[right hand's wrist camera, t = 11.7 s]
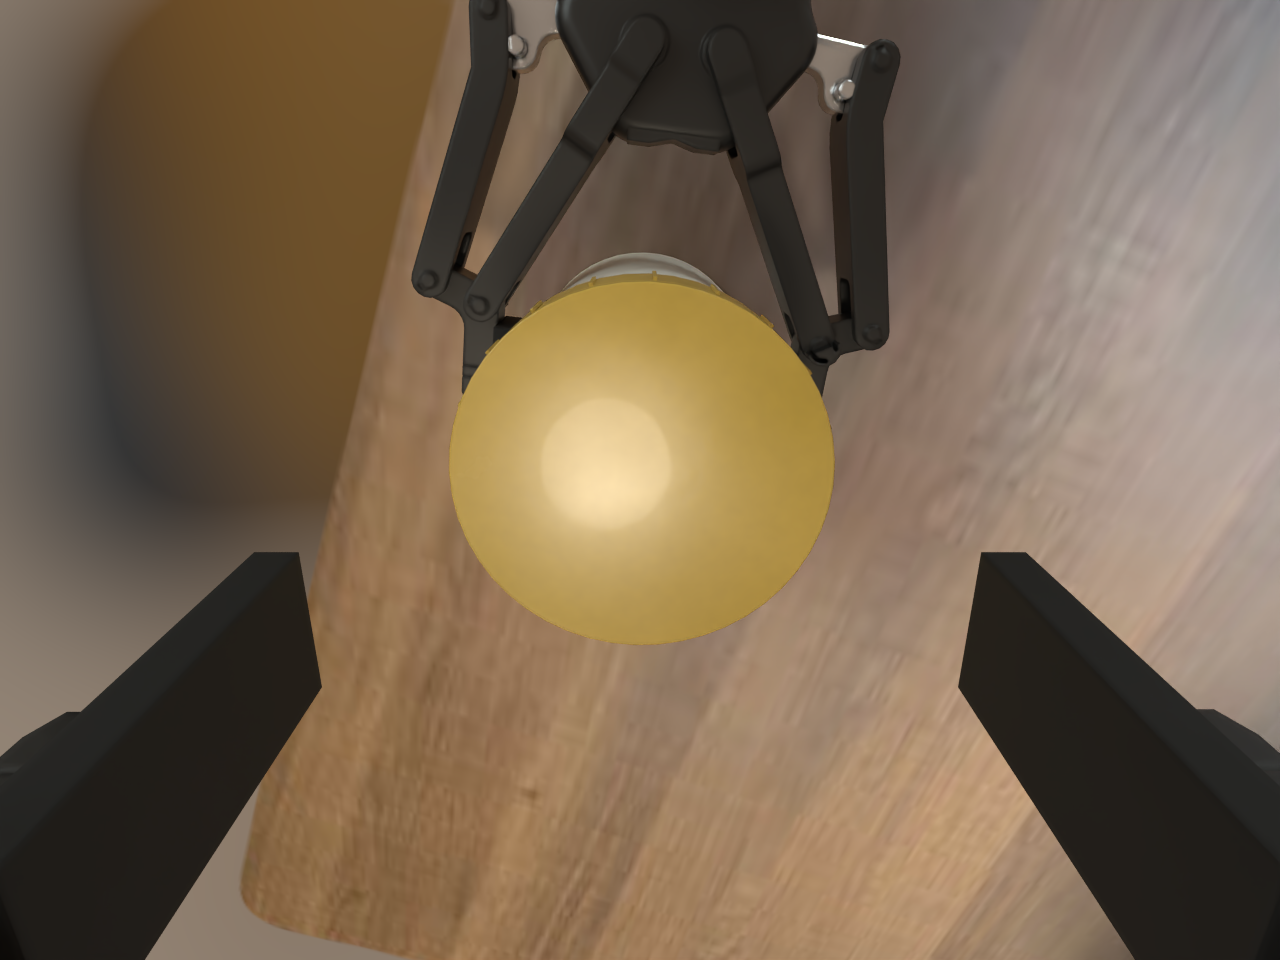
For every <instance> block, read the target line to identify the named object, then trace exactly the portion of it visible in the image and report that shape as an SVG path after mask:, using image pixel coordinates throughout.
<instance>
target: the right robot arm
mask: <svg viewBox="0 0 1280 960" xmlns="http://www.w3.org/2000/svg"><path fill="white" fill-rule="evenodd" d="M321 688H322V685H321V679H320V673H319V668H318V662H317V656H316V650H315V644H314V639H313V633H312V627H311V621H310V615H309V610H308V604H307V598H306V592H305V586H304V581H303V575H302V569H301V563H300V557H299V553H298V552H254V553H253V554H252V555H251V556H250V557H249V558H248V559H246V560H245V561H244V562H243V563H242V564H241V565H240V566H239V567H238V568H237V569H236V570H234V571H233V572H232V573H231V574H230V575H229V576H228V577H227V578H226V579H225V580H224V581H223V582H221V583H220V584H219V585H218V586H217V587H216V588H215V589H214V590H213V591H212V592H211V593H209V594H208V595H207V596H206V597H205V598H204V599H203V600H202V601H201V602H200V603H199V604H198V605H196V606H195V607H194V608H193V609H192V610H191V611H190V612H189V613H188V614H187V615H186V616H184V618H182V619H181V620H180V621H179V622H178V623H177V624H176V625H175V626H174V627H173V628H172V629H170V630H169V631H168V632H167V633H166V634H165V635H164V636H163V637H162V638H161V639H160V640H158V641H157V642H156V643H155V644H154V645H153V646H152V647H151V648H150V649H149V650H148V651H147V652H145V653H144V654H143V655H142V656H141V657H140V658H139V659H138V660H137V661H136V662H135V663H133V664H132V665H131V666H130V667H129V668H128V669H127V670H126V671H125V672H124V673H123V674H121V675H120V676H119V677H118V678H117V679H116V680H115V681H114V682H113V683H112V684H111V685H110V686H108V687H107V688H106V689H105V690H104V691H103V692H102V693H101V694H100V695H99V696H98V697H97V698H95V699H94V700H93V701H92V702H91V703H90V704H89V705H88V706H87V707H86V708H85V709H83V710H82V711H81V712H66V713H64V714H63V715H61V716H59V717H57V718H55V719H54V720H52V721H50V722H49V723H47V724H45V725H43V726H42V727H40V728H38V729H36V730H35V731H33V732H31V733H29V734H28V735H26V736H24V737H22V738H21V739H20V740H19V741H18V742H17V743H16V744H14V745H13V746H12V747H11V748H10V749H9V750H8V751H6V752H5V753H4V754H3V755H2V756H1V757H0V960H145V959H146V957H147V955H148V954H149V952H150V951H151V949H152V948H153V946H154V945H155V943H156V942H157V940H158V939H159V937H160V936H161V934H162V932H163V931H164V929H165V928H166V926H167V925H168V923H169V922H170V920H171V919H172V917H173V916H174V914H175V912H176V911H177V909H178V908H179V906H180V905H181V903H182V902H183V900H184V899H185V897H186V896H187V894H188V892H189V891H190V889H191V888H192V886H193V885H194V883H195V882H196V880H197V879H198V877H199V876H200V874H201V872H202V871H203V869H204V868H205V866H206V865H207V863H208V862H209V860H210V859H211V857H212V855H213V854H214V852H215V851H216V849H217V848H218V846H219V845H220V843H221V842H222V840H223V839H224V837H225V835H226V834H227V832H228V831H229V829H230V828H231V826H232V825H233V823H234V822H235V820H236V819H237V817H238V815H239V814H240V812H241V811H242V809H243V808H244V806H245V805H246V803H247V802H248V800H249V799H250V797H251V795H252V794H253V792H254V791H255V789H256V788H257V786H258V785H259V783H260V782H261V780H262V779H263V777H264V775H265V774H266V772H267V771H268V769H269V768H270V766H271V765H272V763H273V762H274V760H275V759H276V757H277V755H278V754H279V752H280V751H281V749H282V748H283V746H284V745H285V743H286V742H287V740H288V738H289V737H290V735H291V734H292V732H293V731H294V729H295V728H296V726H297V725H298V723H299V722H300V720H301V718H302V717H303V715H304V714H305V712H306V711H307V709H308V708H309V706H310V705H311V703H312V702H313V700H314V698H315V697H316V695H317V694H318V692H319V691H320V689H321ZM958 688H959V689H960V691H961V692H962V694H963V695H964V697H965V698H966V700H967V702H968V703H969V705H970V706H971V708H972V709H973V711H974V712H975V714H976V715H977V717H978V718H979V720H980V722H981V723H982V725H983V726H984V728H985V729H986V731H987V732H988V734H989V735H990V737H991V738H992V740H993V742H994V743H995V745H996V746H997V748H998V749H999V751H1000V752H1001V754H1002V755H1003V757H1004V759H1005V760H1006V762H1007V763H1008V765H1009V766H1010V768H1011V769H1012V771H1013V772H1014V774H1015V775H1016V777H1017V779H1018V780H1019V782H1020V783H1021V785H1022V786H1023V788H1024V789H1025V791H1026V792H1027V794H1028V795H1029V797H1030V799H1031V800H1032V802H1033V803H1034V805H1035V806H1036V808H1037V809H1038V811H1039V812H1040V814H1041V815H1042V817H1043V819H1044V820H1045V822H1046V823H1047V825H1048V826H1049V828H1050V829H1051V831H1052V832H1053V834H1054V835H1055V837H1056V839H1057V840H1058V842H1059V843H1060V845H1061V846H1062V848H1063V849H1064V851H1065V852H1066V854H1067V856H1068V857H1069V859H1070V860H1071V862H1072V863H1073V865H1074V866H1075V868H1076V869H1077V871H1078V872H1079V874H1080V876H1081V877H1082V879H1083V880H1084V882H1085V883H1086V885H1087V886H1088V888H1089V889H1090V891H1091V892H1092V894H1093V896H1094V897H1095V899H1096V900H1097V902H1098V903H1099V905H1100V906H1101V908H1102V909H1103V911H1104V912H1105V914H1106V916H1107V917H1108V919H1109V920H1110V922H1111V923H1112V925H1113V926H1114V928H1115V929H1116V931H1117V932H1118V934H1119V936H1120V937H1121V939H1122V940H1123V942H1124V943H1125V945H1126V946H1127V948H1128V949H1129V951H1130V952H1131V954H1132V956H1133V957H1134V959H1135V960H1280V753H1279V752H1278V751H1277V750H1275V749H1274V748H1273V747H1272V746H1271V745H1270V744H1268V743H1267V742H1266V741H1265V740H1264V739H1263V738H1262V737H1260V736H1259V735H1258V734H1256V733H1254V732H1253V731H1251V730H1249V729H1247V728H1246V727H1244V726H1242V725H1240V724H1239V723H1237V722H1235V721H1233V720H1232V719H1230V718H1228V717H1226V716H1225V715H1223V714H1221V713H1219V712H1218V711H1216V710H1214V709H1195V708H1194V707H1193V706H1192V705H1191V704H1190V703H1189V702H1188V701H1187V700H1186V699H1185V698H1184V697H1182V696H1181V695H1180V694H1179V693H1178V692H1177V691H1176V690H1175V689H1174V688H1173V687H1172V686H1170V685H1169V684H1168V683H1167V682H1166V681H1165V680H1164V679H1163V678H1162V677H1161V676H1160V675H1159V674H1157V673H1156V672H1155V671H1154V670H1153V669H1152V668H1151V667H1150V666H1149V665H1148V664H1147V663H1145V662H1144V661H1143V660H1142V659H1141V658H1140V657H1139V656H1138V655H1137V654H1136V653H1135V652H1134V651H1132V650H1131V649H1130V648H1129V647H1128V646H1127V645H1126V644H1125V643H1124V642H1123V641H1122V640H1121V639H1119V638H1118V637H1117V636H1116V635H1115V634H1114V633H1113V632H1112V631H1111V630H1110V629H1109V628H1107V627H1106V626H1105V625H1104V624H1103V623H1102V622H1101V621H1100V620H1099V619H1098V618H1097V617H1096V616H1094V615H1093V614H1092V613H1091V612H1090V611H1089V610H1088V609H1087V608H1086V607H1085V606H1084V605H1082V604H1081V603H1080V602H1079V601H1078V600H1077V599H1076V598H1075V597H1074V596H1073V595H1072V594H1071V593H1069V592H1068V591H1067V590H1066V589H1065V588H1064V587H1063V586H1062V585H1061V584H1060V583H1059V582H1057V581H1056V580H1055V579H1054V578H1053V577H1052V576H1051V575H1050V574H1049V573H1048V572H1047V571H1046V570H1044V569H1043V568H1042V567H1041V566H1040V565H1039V564H1038V563H1037V562H1036V561H1035V560H1034V559H1032V558H1031V557H1030V556H1029V555H1028V554H1027V553H1026V552H981V557H980V563H979V569H978V575H977V581H976V586H975V592H974V598H973V604H972V610H971V615H970V621H969V627H968V633H967V639H966V644H965V650H964V656H963V662H962V668H961V673H960V679H959V685H958Z"/></svg>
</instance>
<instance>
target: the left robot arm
mask: <svg viewBox="0 0 1280 960" xmlns="http://www.w3.org/2000/svg"><path fill="white" fill-rule="evenodd" d="M469 24H470V48H471V69H470V73H469V76H468V80H467V83H466V87H465V90H464V94H463V97H462V101H461V104H460V108H459V111H458V115H457V118H456V122H455V125H454V129H453V132H452V136H451V139H450V143H449V146H448V150H447V153H446V157H445V160H444V164H443V167H442V171H441V174H440V178H439V181H438V184H437V188H436V191H435V195H434V198H433V202H432V205H431V209H430V212H429V216H428V219H427V223H426V226H425V230H424V233H423V237H422V240H421V244H420V247H419V251H418V254H417V258H416V261H415V265H414V268H413V272H412V280H411V281H412V284H413V287H414V288H415V290H416V291H417V292H418V293H419V294H421V295H422V296H424V297H429V298H432V297H433V298H435V299H437V300H439V301H441V302H443V303H445V304H447V305H449V306H451V307H452V308H454V309H455V310H456V311H457V312H458V313H459V314H460V316H461V317H462V319H463V322H464V348H463V374H462V375H463V377H462V393H463V394H464V392H465V390H466V388H467V386H468V384H469V382H470V380H471V378H472V376H473V375H474V373H475V372H476V370H477V369H478V367H479V365H480V364H481V362H482V361H483V359H484V358H485V356H486V355H487V354H485V352H486V351H487V350H488V349H489V348H490V347H491V346H492V345H493V344H494V343H495V342H496V341H497V340H500V339H501V338H502V337H503V336H504V335H505V334H506V333H507V332H508V331H509V330H510V329H511V328H512V327H513V326H514V325H515V324H516V323H518V322H519V321H520V320H521V319H522V318H519V317H510V316H506V317H505V307H506V306H507V305H508V302H509V300H510V299H511V297H512V295H513V294H514V292H515V291H516V289H517V288H518V286H519V285H520V283H521V281H522V280H523V278H524V277H525V275H526V274H527V272H528V271H529V269H530V267H531V266H532V264H533V263H534V261H535V260H536V258H537V256H538V255H539V253H540V252H541V250H542V249H543V247H544V246H545V244H546V242H547V241H548V239H549V238H550V236H551V235H552V233H553V232H554V230H555V228H556V227H557V225H558V224H559V222H560V221H561V219H562V217H563V216H564V214H565V213H566V211H567V210H568V208H569V207H570V205H571V203H572V202H573V200H574V199H575V197H576V196H577V194H578V193H579V191H580V189H581V188H582V186H583V185H584V183H585V182H586V180H587V178H588V177H589V175H590V174H591V172H592V171H593V169H594V168H595V166H596V165H597V163H598V162H599V161H600V159H601V158H602V157H603V155H604V154H605V152H606V151H607V149H608V147H609V146H610V144H611V143H612V141H613V140H614V138H615V137H616V136H617V137H619V138H620V139H622V140H624V141H626V142H627V144H631V145H639V146H647V147H650V146H657V145H663V144H670V143H672V144H675V145H677V146H679V147H682V148H684V149H686V150H688V151H691V152H693V153H701V154H709V155H715V154H717V153H720V152H724V151H726V152H727V155H728V158H729V161H730V164H731V167H732V170H733V173H734V175H735V177H736V179H737V181H738V184H739V186H740V189H741V192H742V195H743V198H744V201H745V204H746V207H747V210H748V213H749V216H750V219H751V222H752V225H753V228H754V231H755V234H756V237H757V240H758V243H759V246H760V249H761V252H762V255H763V258H764V261H765V264H766V267H767V270H768V273H769V276H770V279H771V282H772V285H773V288H774V291H775V294H776V297H777V300H778V303H779V306H780V309H781V312H782V315H783V318H784V321H785V324H786V327H787V330H788V333H789V336H790V339H791V341H792V343H791V348H792V349H793V351H794V352H795V353H796V355H797V356H798V357H799V359H800V360H801V361H802V363H803V364H804V365H805V366H806V367H807V368H808V369H809V370H810V371H811V372H812V374H811V377H812V379H813V381H814V382H815V384H816V386H817V388H818V390H819V392H820V395H821V397H822V394H823V389H824V385H825V380H826V375H827V371H828V368H829V366H830V365H831V364H833V363H835V362H836V360H837V359H838V358H839V356H840V355H842V354H845V353H849V352H854V351H858V350H862V349H865V350H876V349H879V348H880V347H882V346H883V345H884V344H885V343H886V341H887V339H888V337H889V301H888V269H887V236H886V203H885V170H884V137H883V120H884V116H885V113H886V109H887V106H888V103H889V99H890V96H891V92H892V89H893V85H894V82H895V78H896V75H897V72H898V68H899V64H900V53H899V49H898V47H897V46H896V45H895V44H894V43H893V42H892V41H890V40H888V39H879V40H877V41H875V42H873V43H871V44H870V45H867V46H865V45H860V44H856V43H852V42H848V41H843V40H839V39H835V38H831V37H827V36H823V35H819V34H818V32H817V27H816V23H815V21H814V17H813V14H812V8H811V0H470V1H469ZM554 39H561V40H562V42H563V44H564V46H565V48H566V50H567V51H568V53H569V55H570V57H571V59H572V61H573V63H574V65H575V67H576V69H577V71H578V73H579V74H580V76H581V78H582V80H583V82H584V84H585V86H586V88H587V90H588V94H587V95H586V97H585V99H584V100H583V102H582V103H581V105H580V107H579V108H578V110H577V112H576V113H575V115H574V116H573V118H572V120H571V121H570V123H569V125H568V126H567V128H566V130H565V132H564V135H563V137H562V139H561V141H560V143H559V144H558V146H557V147H556V149H555V151H554V152H553V154H552V156H551V157H550V159H549V160H548V162H547V164H546V165H545V167H544V168H543V170H542V172H541V173H540V175H539V176H538V178H537V180H536V181H535V183H534V185H533V186H532V188H531V189H530V191H529V193H528V194H527V196H526V197H525V199H524V201H523V202H522V204H521V206H520V207H519V209H518V210H517V212H516V214H515V215H514V217H513V218H512V220H511V222H510V223H509V225H508V227H507V228H506V230H505V231H504V233H503V235H502V236H501V238H500V239H499V241H498V243H497V244H496V246H495V247H494V249H493V251H492V252H491V254H490V256H489V257H488V259H487V260H486V262H485V264H484V265H483V267H482V268H481V270H480V272H479V273H478V275H477V274H475V273H473V272H471V271H469V270H467V269H465V268H464V267H465V264H466V261H467V257H468V254H469V251H470V248H471V244H472V241H473V238H474V235H475V232H476V228H477V225H478V222H479V219H480V215H481V212H482V209H483V206H484V202H485V199H486V196H487V193H488V189H489V186H490V183H491V180H492V177H493V173H494V170H495V167H496V164H497V160H498V157H499V154H500V151H501V147H502V144H503V141H504V138H505V134H506V131H507V128H508V125H509V121H510V118H511V115H512V112H513V109H514V105H515V101H516V97H517V93H518V86H519V78H520V74H525V73H529V72H531V71H533V70H534V69H535V68H536V67H537V65H538V63H539V60H540V56H541V52H542V50H543V48H544V46H545V45H546V44H547V43H548V42H550V41H552V40H554ZM804 72H806V73H808V74H810V75H811V76H812V77H813V78H814V79H815V81H816V82H817V86H818V102H819V105H820V107H821V109H822V110H823V111H824V112H825V113H827V114H830V115H832V119H831V127H830V163H831V182H832V201H833V220H834V238H835V257H836V276H837V295H838V314H836V315H832V316H828V314H827V311H826V308H825V304H824V301H823V298H822V295H821V292H820V289H819V285H818V282H817V279H816V276H815V273H814V269H813V266H812V263H811V260H810V257H809V253H808V250H807V247H806V244H805V241H804V237H803V234H802V231H801V228H800V225H799V222H798V218H797V215H796V212H795V209H794V206H793V202H792V199H791V196H790V193H789V190H788V186H787V183H786V180H785V177H784V174H783V170H782V166H781V156H780V152H779V149H778V145H777V142H776V139H775V136H774V133H773V129H772V126H771V123H770V120H769V117H768V112H769V111H770V110H771V109H772V108H773V107H774V106H775V104H776V103H777V102H778V101H779V100H780V99H781V98H782V97H783V95H784V94H785V93H786V92H787V91H788V90H789V89H790V88H791V86H792V85H793V84H794V83H795V82H796V81H797V80H798V79H799V77H800V76H801V75H802V74H803V73H804Z"/></svg>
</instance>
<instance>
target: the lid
mask: <svg viewBox="0 0 1280 960" xmlns="http://www.w3.org/2000/svg"><path fill="white" fill-rule="evenodd" d="M773 327H774V325H773V324H772V323H771V322H770V321H769V320H767V319H766V318H765V317H764V316H763V315H761V316H758V315H757V314H756V313H754V312H753V311H752V310H750V309H749V308H748V307H747V306H745V305H744V304H743V303H741V302H739V301H738V300H736V299H734V298H732V297H731V296H729V295H727V294H725V293H723V292H722V291H720V290H718V288H717V287H716V286H715V285H713V284H711V286H707V285H705V284H702V283H699V282H696V281H692V280H688V279H684V278H680V277H676V276H670V275H661V274H657V272H656V271H652V274H651V273H641V274H621V275H615V276H609V277H603V278H598V279H596V276H594V277H592V278H591V280H590V281H588V282H585V283H582V284H579V285H576V286H574V287H571V288H569V289H567V290H565V291H563V292H561V293H558V294H556V295H554V296H553V297H551V298H549V299H548V300H546V301H545V302H542V301H541V300H540V301H539V302H537V303H536V304H535V305H534V306H533V307H532V308H531V309H530V312H529V313H528V314H527V315H526V316H525V317H523V318H522V319H521V320H520V321H519V322H518V323H516V324H515V325H514V326H513V327H512V328H511V329H510V330H509V331H508V332H507V333H506V334H505V335H504V336H503V337H502V338H501V339H500V340H497V341H496V342H495V343H494V344H493V345H492V346H491V347H490V348H489V349H488V350H487V351H486V352H485V354H487V355H486V356H485V358H484V359H483V361H482V362H481V364H480V365H479V367H478V369H477V370H476V372H475V373H474V375H473V376H472V378H471V380H470V382H469V384H468V386H467V388H466V390H465V392H464V394H463V397H462V399H461V401H460V402H459V404H458V411H457V414H456V417H455V420H454V424H453V429H452V436H451V442H450V449H449V475H450V484H451V492H452V498H453V501H454V505H455V509H456V513H457V516H458V520H459V522H460V524H461V527H462V529H463V532H464V534H465V536H466V539H467V541H468V543H469V544H470V546H471V548H472V549H473V551H474V553H475V555H476V556H477V558H478V560H479V561H480V563H481V564H482V565H483V566H484V568H485V569H486V570H487V572H488V573H489V574H490V576H491V577H492V578H493V579H494V580H495V581H496V582H497V583H498V584H499V585H500V586H501V587H502V588H503V590H504V591H505V592H506V593H507V594H508V595H510V596H511V597H512V598H513V599H515V600H516V601H517V602H518V603H520V604H521V605H522V606H523V607H525V608H526V609H527V610H529V611H531V612H532V613H534V614H535V615H537V616H539V617H540V618H542V619H544V620H545V621H547V622H549V623H551V624H553V625H556V626H558V627H560V628H562V629H564V630H566V631H569V632H572V633H575V634H578V635H581V636H584V637H587V638H591V639H596V640H600V641H605V642H610V643H619V644H630V645H654V644H665V643H672V642H679V641H684V640H688V639H692V638H696V637H700V636H704V635H706V634H709V633H711V632H714V631H717V630H719V629H722V628H724V627H727V626H728V625H730V624H732V623H734V622H736V621H738V620H740V619H742V618H744V617H746V616H747V615H749V614H750V613H751V612H753V611H754V610H756V609H757V608H759V607H760V606H762V605H763V604H765V603H766V602H767V601H768V600H769V599H770V598H771V597H773V596H774V595H775V594H776V593H777V592H778V591H779V590H780V589H782V588H783V586H784V585H785V584H786V583H787V582H788V581H789V580H790V579H791V577H792V576H793V575H794V574H795V573H796V572H797V571H798V569H799V568H800V566H801V565H802V563H803V562H804V560H805V559H806V557H807V556H808V554H809V553H810V551H811V549H812V547H813V545H814V544H815V542H816V540H817V538H818V536H819V534H820V532H821V529H822V526H823V524H824V521H825V518H826V515H827V512H828V509H829V505H830V500H831V495H832V490H833V484H834V468H835V457H834V444H833V435H832V431H831V425H830V422H829V417H828V413H827V411H826V408H825V405H824V403H823V400H822V397H821V395H820V392H819V390H818V388H817V386H816V384H815V382H814V381H813V379H812V377H811V374H812V372H811V371H810V370H809V369H808V368H807V367H806V366H805V365H804V364H803V363H802V361H801V360H800V359H799V357H798V356H797V355H796V353H795V352H794V351H793V349H792V348H791V347H790V346H789V345H788V344H787V343H786V342H785V341H784V340H783V339H782V338H781V337H780V336H779V335H778V334H777V333H776V332H775V331H774V330H773V329H772V328H773Z"/></svg>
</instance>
